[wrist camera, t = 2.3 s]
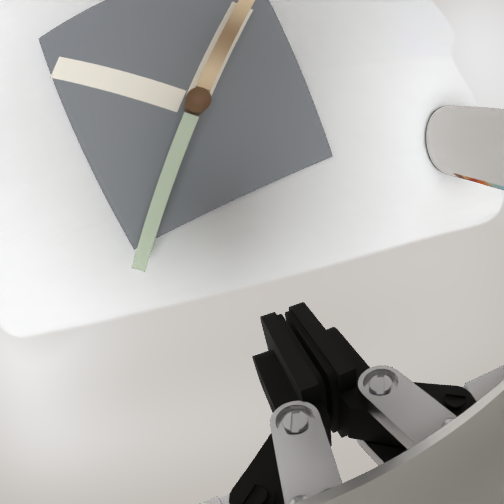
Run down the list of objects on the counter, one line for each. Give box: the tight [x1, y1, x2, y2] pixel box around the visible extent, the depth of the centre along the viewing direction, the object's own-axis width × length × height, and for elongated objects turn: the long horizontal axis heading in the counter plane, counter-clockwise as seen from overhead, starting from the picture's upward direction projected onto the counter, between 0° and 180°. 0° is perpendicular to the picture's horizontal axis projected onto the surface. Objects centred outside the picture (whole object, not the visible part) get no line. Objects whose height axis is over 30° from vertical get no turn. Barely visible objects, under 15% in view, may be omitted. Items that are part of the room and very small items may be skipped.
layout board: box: [39, 0, 332, 249], centre depth 21 cm, size 20×18×1 cm
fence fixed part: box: [183, 0, 255, 116], centre depth 18 cm, size 10×2×5 cm, turn 158°
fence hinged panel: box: [132, 112, 199, 272], centre depth 21 cm, size 11×1×3 cm, turn 158°
